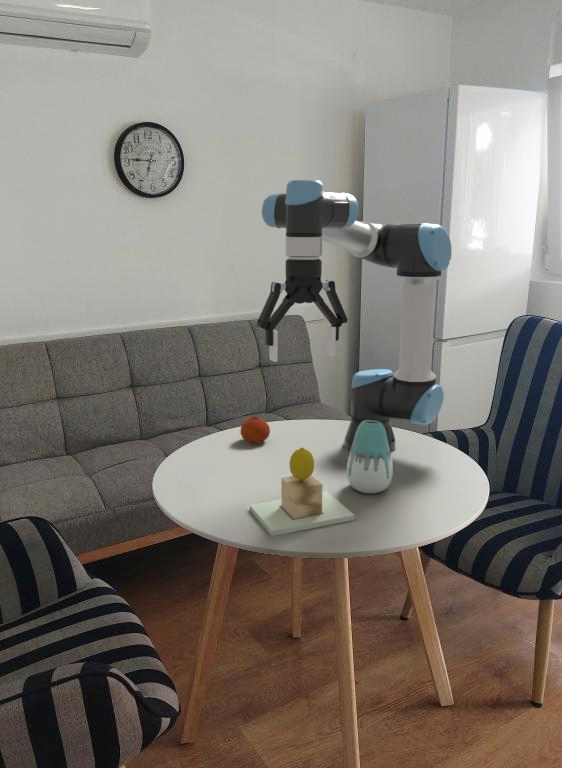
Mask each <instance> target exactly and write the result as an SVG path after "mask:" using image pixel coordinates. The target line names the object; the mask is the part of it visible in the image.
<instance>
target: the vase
mask: <svg viewBox="0 0 562 768" xmlns="http://www.w3.org/2000/svg"><path fill="white" fill-rule="evenodd" d="M393 476H394V465H393V458H392V455H391V452H390V449H389V445H388V440H387V434H386V430H385V427H384V425H383V424H382V423H381V422H379V421H373V420H364V421H362V422H361V424H360V425H359V427H358V429H357V431H356V434H355V438H354V441H353V444H352V447H351V450H349V455H348V458H347V463H346V479H347V481H348V483H349V484H350V486H351V487H352V488H353V489H354V490H355V491H358V492H359V493H362V494H379V493H382V492H384V491H385V490H386V489H388V487H389V486H390V484H392V481H393Z"/></svg>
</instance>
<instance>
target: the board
mask: <svg viewBox="0 0 562 768" xmlns="http://www.w3.org/2000/svg"><path fill="white" fill-rule="evenodd" d="M249 511H250V512H251V513H252V514H253V515H254V517H255V518H256V519H257V521H259V522H260V524H261V525H262V526H263V527H264V528H265V530H266V531H267V532H268V533H269V534H270V535H271V536H272V537H275V536H280V535H285V534H289V533H290V534H291V533H294V532H295V533H296V532H300V531H305V530H310V529H314V528H315V529H316V528H320V527H325V526H330V525H335V524H339V523H344V522H350V521H354V520H355V514H354V513H353V512H352V511H351V510H349V509H348V508H347V507H346V506H344V505H343V503H341V502H340V501H339V500H337V499H336V498H335V497H334V496H332V494H330V493H329V492H328V491H322V513H320V514H315V515H310V516H304V517H299V518H293V517H292V516H291V515H290V514H289V513H288V512H287V511H286V510H285V509H284V508H283V507H282V506H281V499H277V500H272V501H271V500H270V501H265V502H260V503H252V504H249Z"/></svg>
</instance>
